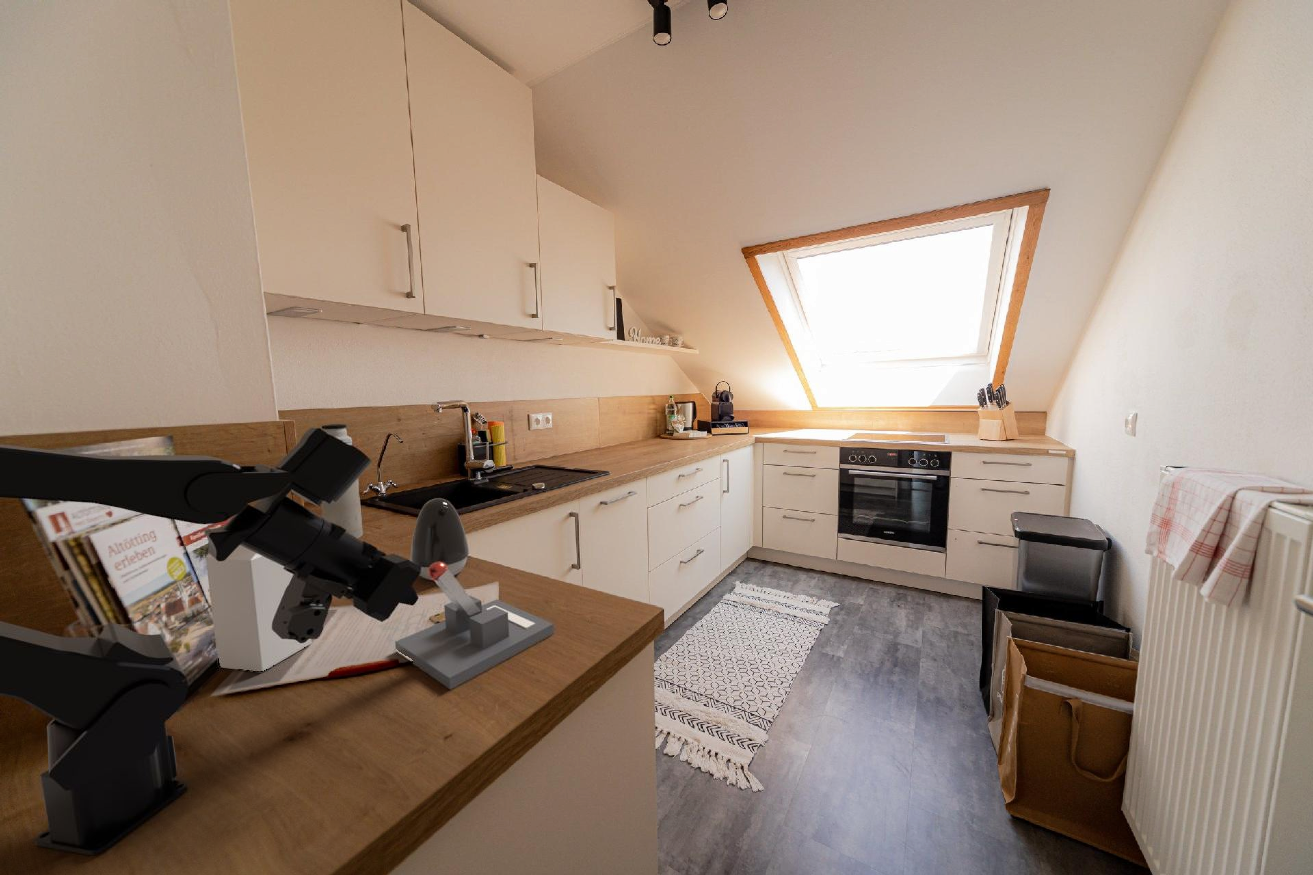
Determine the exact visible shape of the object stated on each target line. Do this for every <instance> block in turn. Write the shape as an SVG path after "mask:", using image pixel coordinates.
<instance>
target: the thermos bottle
mask: <svg viewBox="0 0 1313 875" xmlns="http://www.w3.org/2000/svg"><path fill="white" fill-rule="evenodd" d="M321 429H322V430H324V431H325V432H326V433H328V434H330V435H332V436H334V437H336V438H338V439H340V440H341V441H343V442H345V443H346V444H348V445H353V440H352V436H348V430H347V424H344V423H343V424H342V423H341V424H339V423H334V424H324V425H321ZM359 487H360V486H359V478H358V479H357V480H356V481H355V482H354V483H353V484H352V486H351V487H350V488H349V489H348V490H347V491H346V492H345V494H344V495H343V496H342V497H341V498H340V499H339V500H338V501H337V503H333V502H331V503H330V504H328V503H326V502H324V501H323V503H322V504H321V505H320V507H321V517H323V518H324V519H326V520H328V521H329V522H332V523H334V524H336V525H339V526H340V527H342V528H344V529H346V532H348V533H350V534H351V535H353V536H355V537H357V538H358V539H360V538H361V537H362V536H363V534H364V530H363V522H362V521H363V519H362V510H361V499H360V493H359V492H360V489H359Z"/></svg>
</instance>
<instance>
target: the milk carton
mask: <svg viewBox="0 0 1313 875" xmlns="http://www.w3.org/2000/svg"><path fill="white" fill-rule="evenodd" d="M205 563H206V571H207V582H208V589H209V599H210V605H211V614H212V615H211V616H212V623H213V630H214V632H213V633H214V641H215V648H216V655H217V654H218V658H219V663H220V666H221V667H220V668H224V669H229V670H230V669H231V670H238V669H244V670H243V671H246V670H250V671H249V672H253V671H263V672H265V671H267V670H268V669H270V668H272V667H274V666H276V665H277V664H279V663H280V662H282V661H284V660H287V658H289V657H291V656H292V655H294V654H296V653H298V652H300V651H301V650H303V649H305V648H306V647H308V646H310V645H312V642H313V641H312V639H308V640H307V641H306V642H305V643H299V642H298V641H296V640H293V639H281V638H280V637H279V636H278V635H277V634H276V633H275V632H274V631H273V630H272V621H273V618H274V616H275V613H276V611H277V609H278V606H279V604H280V601H281V599H282V597H283V594H284V592H285V590H286V588H287V586H288V585H289V583H290V581H291V579H292V577H293V574H292V573H290V572H288V571H286V570H284V569H283V568H284V566H282V565H280V564H278V563H276V562H274V561H272V560H270V559H267V558H265V557H263V556H261V555H259V554H257V553H255V552H253V551H251V550H249V549H247V548H245V547H243V546H241V545H239V546H238V547H237V548H236V549H235V550H234V551H233V552H232V553H231V555H230V556H229V557H228V558H227V559H226V560H224V561H217V560H216V559H215V558H214V557H213V556H212V555H210V554H209V553H208V554H206V556H205ZM304 647H305V648H304ZM218 658H217V659H218ZM273 665H274V666H273ZM245 669H246V670H245ZM266 669H267V670H266ZM251 670H253V671H251ZM264 670H265V671H264Z"/></svg>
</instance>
